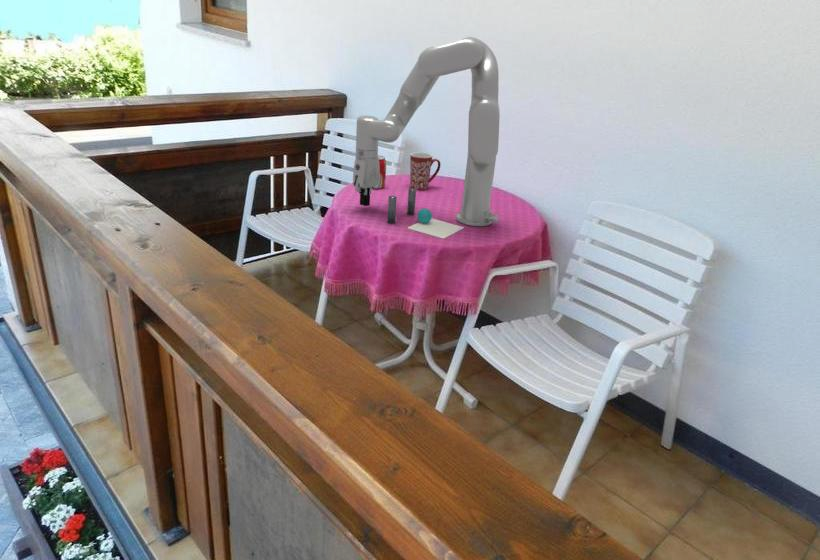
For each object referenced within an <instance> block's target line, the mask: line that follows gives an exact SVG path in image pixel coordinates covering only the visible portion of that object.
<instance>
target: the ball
mask: <svg viewBox="0 0 820 560" xmlns="http://www.w3.org/2000/svg"><path fill="white" fill-rule="evenodd" d="M416 217H417V220H418V222H421V223H428V222H430V220H431V219H433V214H432V211H431V210H430V209H428V208H421V209H419V210H418V212H417V214H416Z"/></svg>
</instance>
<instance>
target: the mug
mask: <svg viewBox="0 0 820 560" xmlns="http://www.w3.org/2000/svg"><path fill="white" fill-rule="evenodd" d="M409 156H410V158H409V159H410V162H409V163H410V166H409V167H410V169H409V173H410V174H409V176H410V178H409V179H410V181H409V184H410V185H409V187H410V188H414V189H416V191H425V190H428V189H429V184H430V183H431V182H432V181H433V180H434V179H435V177H436V176H437V175H438V173H439V171H440V169H441V161H440V160H439V159H438V158H433V157H434V156H433V154H432V153H428V152H423V151H418V152H417V151H416V152H415V151H414V152H411V153H409ZM435 162H437V167H436V170H435V172H434V173H433V174H432V175H430V174H431V169H432V168H431V167H432V165H433V163H435ZM410 188H409V189H410Z"/></svg>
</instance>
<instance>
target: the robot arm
mask: <svg viewBox="0 0 820 560" xmlns="http://www.w3.org/2000/svg"><path fill="white" fill-rule="evenodd" d="M466 70H470V72H471V96H470V97H471V98H470V99H471V101H470V105H469V106H470V107H469V111H468V127H467V129H468V133H467V134H468V135H467V138H468V139H467V157H466V158H467V159H466V167H465V168H466V169H465V176H464V185H463V192H462V202H461V209H460V212H458V213H457V214H456V217H455V220H456V221H458V223H460V224H462V225H466V226H471V227H486V226H487V227H488V226H489V225H491V224H492V223H496V224H497V223H498V222H499V215H497V214H493V213H492V211H493V209H491V208H490V207H491V206H490V205H491V199H492V198H491V197H492V191H493V184H494V176H495V170H496V161H497V156H498V153H499V139H500V116H501V115H500V106H499V79H500V77H499V65H498V61H497V58H496V56H495V54H494V51H493V50H492V49H491V48H490V46H489V45H488V44H486V43H485V42H483V41H482V40H480V39H479V38H477V37H472V36H466V37H464V38H462V39H461V40H457V41H453V42H451V43H446V44H443V45H440V46H429V47H426V48H425V49H424V50H423V51H422V52H421V53H420V54H419V56H418V59H417V61H416V63H415V64H414V66H413V68H412V69H411V70H410V73H409V74H408V76H407V78H406V79H405V80H404V82H403V84H402V85H401V87H400V90H399V93H398V96H397V98H396V100H395V102H394V103H393V105H392V106H391V108H390V110H389V111H388V114H386V116H385V118H383V119H379V118H378V117H376V116H374V115H373V116H372V115H361V116H358V117H357V119H356V127H355V129H356V131H355V133H356V134H355V159H354V164H353V165H354V166H353V171H352V184H353V186H354V191H355V192H357V193H358V194H359V205H361V206H364V207H368V206H370V203H371V194H372V191H373V189H374V188H373V187H374V186H375V185H377V184H378V183H379V180H380V166H379V158H378V156H379V155H378V154H379V153H378V152H379V142H383V143H389V144H390V143H394V142H396V141H397V140H398V139H399V138H400V136H401V134H402V133H403V132H404V130H405V128H406V127H407V125H408V124H409V123H410V121H411V119H412V117H413V116H414V114H415V113H416V111H417V110H418V109H419V107H420V106H421V105H422V104H423V103H424V101H425V100H426V98H427V97H428V95H429V94H430V93H431V91H432V89H433V87H434V86H435V84H436V83H437V81H438V79H440V78H441V77H442V76H446V75H450V74H454V73H458V72H462V71H466Z"/></svg>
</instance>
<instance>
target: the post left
mask: <svg viewBox="0 0 820 560" xmlns="http://www.w3.org/2000/svg"><path fill="white" fill-rule="evenodd" d="M387 202H388V203H387V205H388V207H387V221H386V223H387V224H388V225H389V224H390V225H391V224H392V225H393V224H394V225H395V224H396V216H397V215H396V213H397V195H388V201H387Z"/></svg>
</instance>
